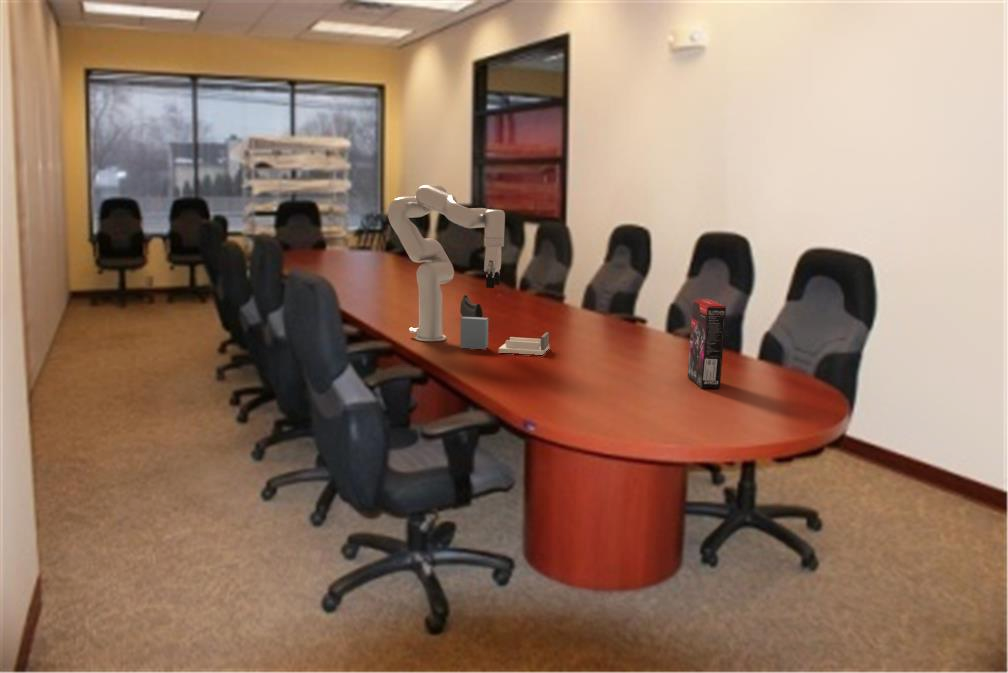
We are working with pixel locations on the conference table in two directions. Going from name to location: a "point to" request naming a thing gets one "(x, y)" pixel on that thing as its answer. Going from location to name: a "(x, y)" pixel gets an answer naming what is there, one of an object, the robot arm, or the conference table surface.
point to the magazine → (470, 308)
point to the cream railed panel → (526, 345)
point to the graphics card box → (706, 343)
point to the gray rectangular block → (474, 332)
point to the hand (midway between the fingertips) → (492, 286)
